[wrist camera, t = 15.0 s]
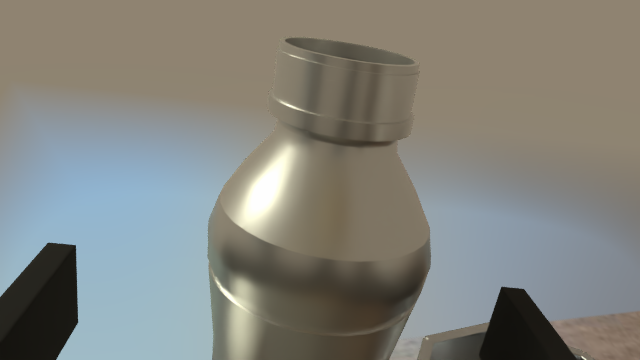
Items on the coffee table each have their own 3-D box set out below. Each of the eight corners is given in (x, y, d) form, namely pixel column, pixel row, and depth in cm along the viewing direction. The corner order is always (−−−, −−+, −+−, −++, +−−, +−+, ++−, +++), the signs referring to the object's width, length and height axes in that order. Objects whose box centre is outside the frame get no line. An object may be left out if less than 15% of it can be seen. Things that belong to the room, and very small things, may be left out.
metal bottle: (245, 452, 24) (304, 26, 17) (370, 538, 21) (506, 70, 14) (138, 572, 19) (157, 25, 12) (286, 707, 16) (434, 95, 9)
